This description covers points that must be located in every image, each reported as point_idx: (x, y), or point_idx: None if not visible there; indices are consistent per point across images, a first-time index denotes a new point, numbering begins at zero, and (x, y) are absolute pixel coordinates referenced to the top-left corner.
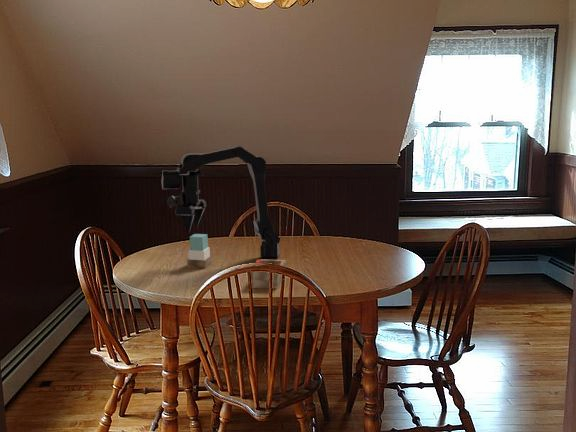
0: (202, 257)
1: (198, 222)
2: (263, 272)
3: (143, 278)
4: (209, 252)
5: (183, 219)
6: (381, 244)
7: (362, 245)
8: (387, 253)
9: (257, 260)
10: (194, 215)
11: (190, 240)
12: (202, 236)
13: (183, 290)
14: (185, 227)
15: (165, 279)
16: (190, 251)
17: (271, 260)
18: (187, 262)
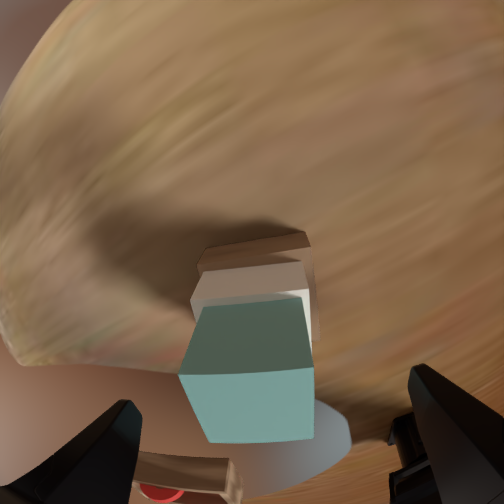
0: None
1: (424, 442)
2: (135, 488)
3: (23, 168)
4: None
5: (25, 493)
6: None
7: None
8: None
9: (154, 499)
10: (481, 487)
11: (187, 356)
12: (230, 438)
13: (29, 344)
14: (86, 435)
15: (45, 252)
16: (194, 309)
17: (225, 500)
18: (200, 259)
